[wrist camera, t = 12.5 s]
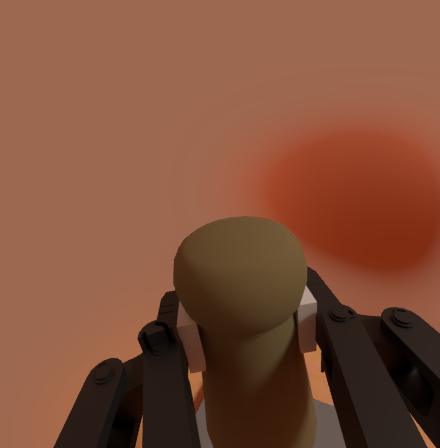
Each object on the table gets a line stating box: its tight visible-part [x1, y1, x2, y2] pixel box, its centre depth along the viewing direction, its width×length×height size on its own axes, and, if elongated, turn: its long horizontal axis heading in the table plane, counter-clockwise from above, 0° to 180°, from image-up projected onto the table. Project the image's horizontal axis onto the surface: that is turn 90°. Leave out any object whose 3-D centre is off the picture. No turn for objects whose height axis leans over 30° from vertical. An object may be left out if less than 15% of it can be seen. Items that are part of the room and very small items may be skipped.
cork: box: [173, 216, 317, 448], centre depth 11 cm, size 6×6×11 cm
